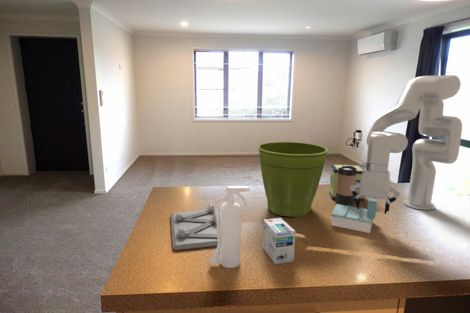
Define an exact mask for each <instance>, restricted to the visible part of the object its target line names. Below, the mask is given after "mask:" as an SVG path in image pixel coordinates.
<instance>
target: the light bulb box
mask: <svg viewBox="0 0 470 313" xmlns="http://www.w3.org/2000/svg"><path fill="white" fill-rule="evenodd" d="M262 242H263V245H262V248H263V249H264V251H265V252H266V254H267V255H268V257H269V258H270V259H271V261H272V262H273V263H274V264H275V265H279V264H285V263H286V264H287V263H293V262H294V261H295V243H296V230H295V229H294V228H293V227H292V226H291V225H289V224H288V223H287V222H286V221H285V220H284V219H283V218H282V217H277V218H276V217H274V218H264V219H263V241H262Z"/></svg>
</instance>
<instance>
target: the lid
mask: <svg viewBox="0 0 470 313" xmlns="http://www.w3.org/2000/svg"><path fill="white" fill-rule="evenodd" d="M378 200H379V199H378V198H372V197H368V202H367V208H364V207H362V206H361V207H359V209H357V206H353V207H351V206H350V205H348V206H345V205H340V204H336V203H335V205H336V206H334V208H333V210H332V211H331V213H330V216H331V217H332V216H334V217H339V218H345V219H350V220H355V221H360V222H365V223H370V224H372V225H373V223H374V219H375V220H376V217H377V210H378V209H377V208H378Z"/></svg>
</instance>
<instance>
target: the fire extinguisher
mask: <svg viewBox="0 0 470 313" xmlns="http://www.w3.org/2000/svg"><path fill="white" fill-rule="evenodd" d="M244 192H250V186H249V187H248V186H247V185H226V188H225V192H224V193H226V195H224V196H221V197H219V198H218V199H217V200H216V201H215V204H214V206H215V208H214V212H215V216H216V223H217V238H218V245H217V246H216V248H215V250H213V253H212V256H210V259H209V261H208V263H209V264H211V265H214V266H215V265H218V264H219V265H221V266H222V267H223V268H226V269H233V268H238V266H239V265H240V264H241V229H242V228H241V226H242V224H241V223H242V222H241V221H242V219H241V218H242V215H241V214H242V209H241V205H240V204H239V203H237V202H235V195H236V196H238V198H239V199H240V202H241V204H242V206H244V207H245V206H247V205H248V203H247V200H246V198H245V197H244V196H243V195H242V194H241V193H244ZM234 194H235V195H234ZM223 200H226V201H225V202H224V203H222V204H221V205H220V208H219V210H220V223H219V215H218V211H217V209H218V207H219V203H220V202H222V201H223Z"/></svg>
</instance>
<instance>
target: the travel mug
mask: <svg viewBox="0 0 470 313" xmlns="http://www.w3.org/2000/svg"><path fill="white" fill-rule="evenodd" d="M356 171H357V169H356V168H354V167H350V166H342V167H341V168H338V178H337V189H336V200H335V206H336V204H340V205H345V206H348V205H350V206H351V207H354V202H355V201H354V195H353V194H352V191H351V189H350V186H351V185H354V184H355V183H356ZM354 189H355V188H354ZM335 206H334V207H335Z"/></svg>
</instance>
